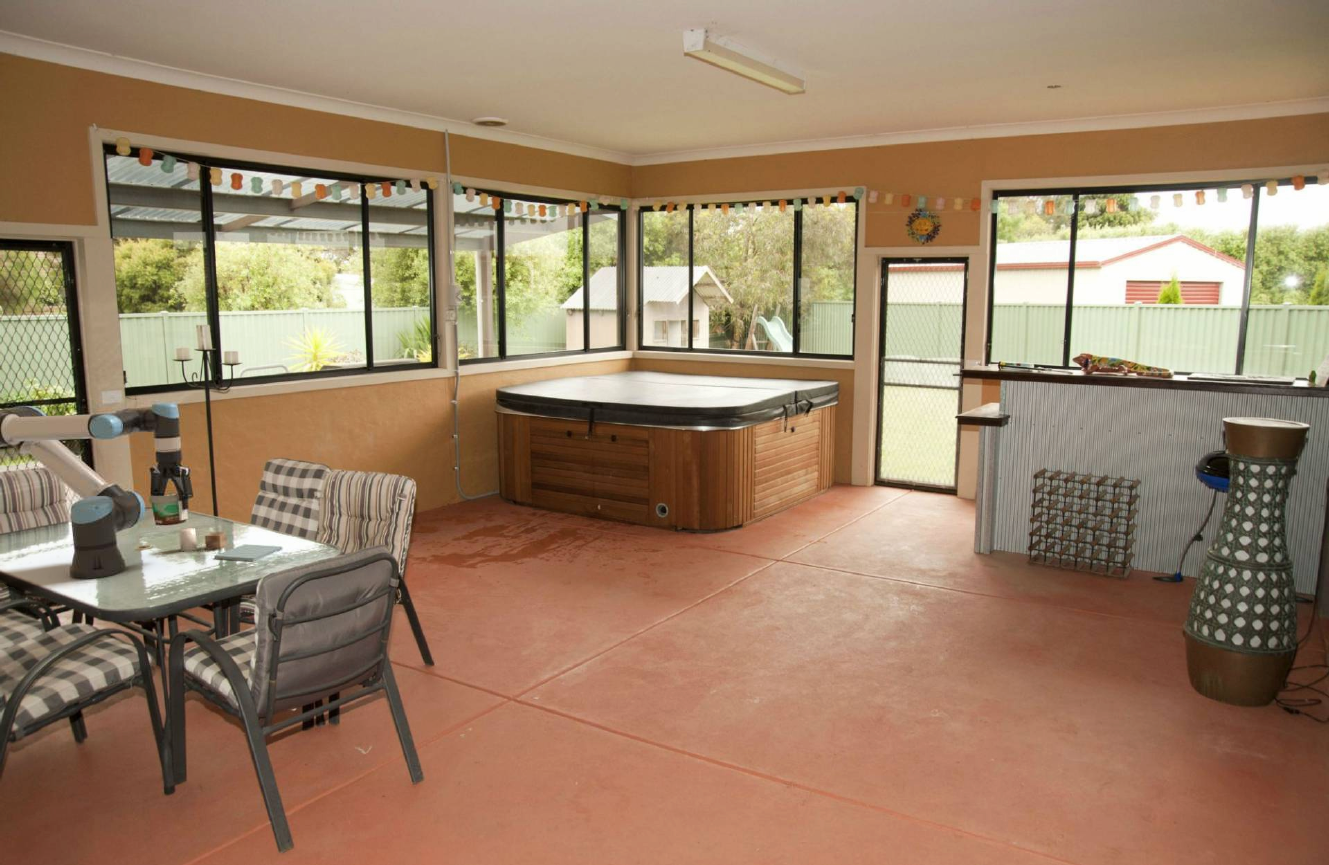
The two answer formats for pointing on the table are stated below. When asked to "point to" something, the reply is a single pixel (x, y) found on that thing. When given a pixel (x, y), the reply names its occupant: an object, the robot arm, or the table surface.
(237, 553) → the teal board
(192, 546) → the cream cylinder
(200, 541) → the table surface
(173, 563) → the table surface
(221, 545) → the walnut block
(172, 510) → the food container
